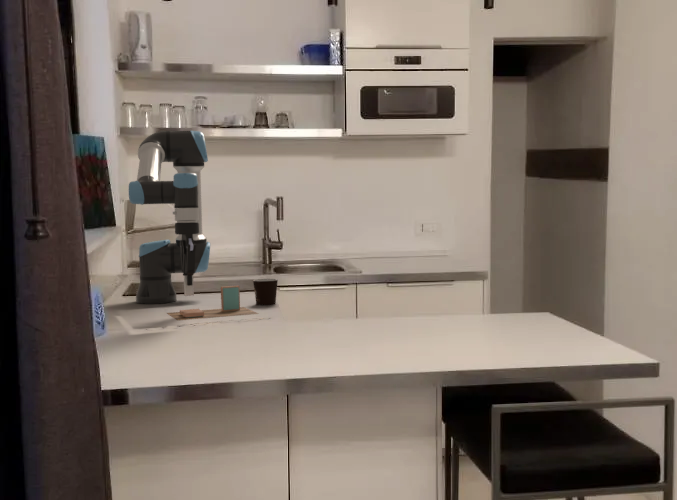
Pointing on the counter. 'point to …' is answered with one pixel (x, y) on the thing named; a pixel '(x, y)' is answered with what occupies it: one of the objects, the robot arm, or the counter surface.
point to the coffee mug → (265, 291)
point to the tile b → (230, 298)
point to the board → (215, 314)
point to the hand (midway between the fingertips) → (189, 295)
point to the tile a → (192, 313)
